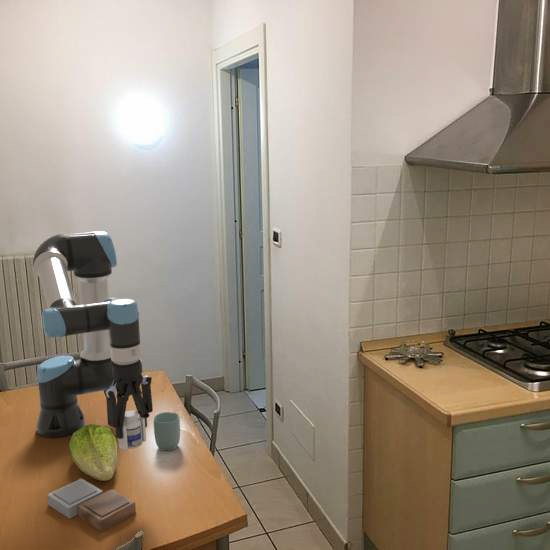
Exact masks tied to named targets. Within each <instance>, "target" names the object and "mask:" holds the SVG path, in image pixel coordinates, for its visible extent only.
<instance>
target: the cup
mask: <svg viewBox="0 0 550 550" xmlns="http://www.w3.org/2000/svg"><path fill="white" fill-rule="evenodd" d="M152 422H153V423H152V424H153V432H154V433H153V435H154V441H155V445H156V446H157V448H158V449H160V450H162V451H169V452H170V451H172V450H175V449H176V448H177V447H178V445H179V443H180V442H181V420H180V414H179V413H176V412H172V411H165V412H161V413H158V414H156V415H154V417H153V421H152Z"/></svg>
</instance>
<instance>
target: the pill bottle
mask: <svg viewBox="0 0 550 550" xmlns="http://www.w3.org/2000/svg"><path fill="white" fill-rule="evenodd" d="M138 416H139V414H138V411H137V410H126V411H125V417H124V424H123V425H125V426H126V430H127V443H128V450H134V449H137V448H139V447H141V446H142V445H143V441H142V428H141V421H140V420H139V419H138Z"/></svg>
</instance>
